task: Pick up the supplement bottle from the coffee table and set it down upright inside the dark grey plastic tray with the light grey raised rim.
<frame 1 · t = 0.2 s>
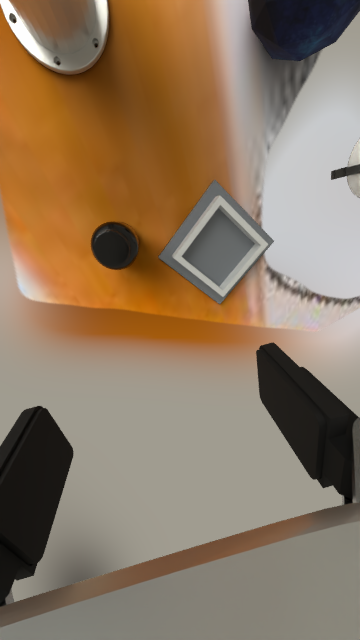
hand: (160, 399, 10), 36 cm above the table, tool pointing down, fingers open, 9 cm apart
decorative orb: (279, 13, 31), on the table
supplement bottle: (120, 241, 40), on the table
rimmed tray: (216, 248, 43), on the table
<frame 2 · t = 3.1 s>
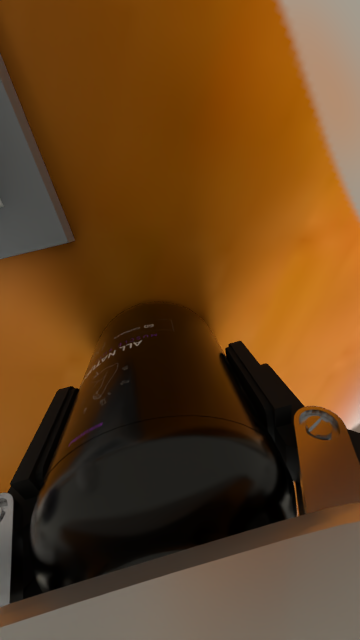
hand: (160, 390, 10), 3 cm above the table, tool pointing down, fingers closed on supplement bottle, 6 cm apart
supplement bottle: (156, 350, 14), on the table, touching gripper
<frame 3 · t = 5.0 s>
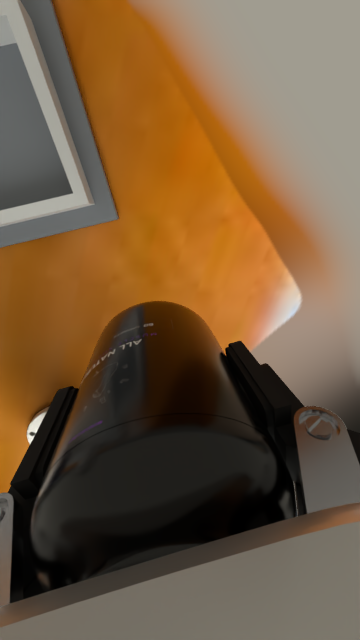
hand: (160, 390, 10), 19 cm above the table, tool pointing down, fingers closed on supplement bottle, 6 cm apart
supplement bottle: (156, 350, 14), point 15 cm above the table, touching gripper
rimmed tray: (3, 144, 20), on the table
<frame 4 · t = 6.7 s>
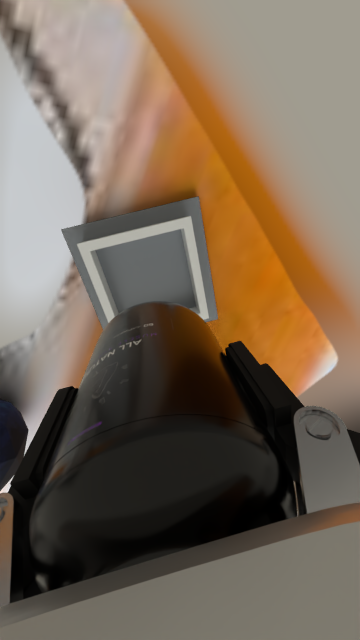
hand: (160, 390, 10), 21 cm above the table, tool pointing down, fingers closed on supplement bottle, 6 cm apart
supplement bottle: (156, 350, 14), point 18 cm above the table, touching gripper
rimmed tray: (149, 278, 30), on the table
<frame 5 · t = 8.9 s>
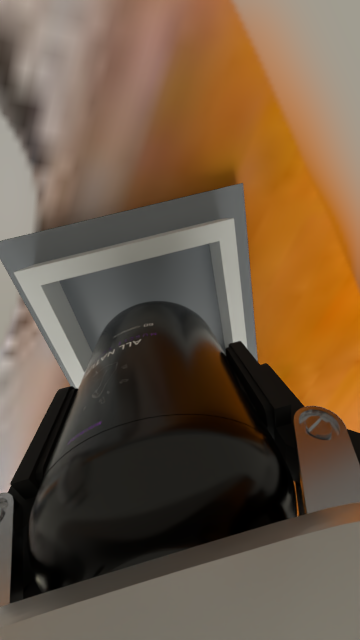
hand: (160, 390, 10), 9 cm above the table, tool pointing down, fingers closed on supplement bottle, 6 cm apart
supplement bottle: (156, 350, 13), point 5 cm above the table, touching gripper
rimmed tray: (153, 319, 18), on the table
when the fingers open (5 cm above the table, at t = 10.6 s): supplement bottle drops 1 cm, resting on rimmed tray.
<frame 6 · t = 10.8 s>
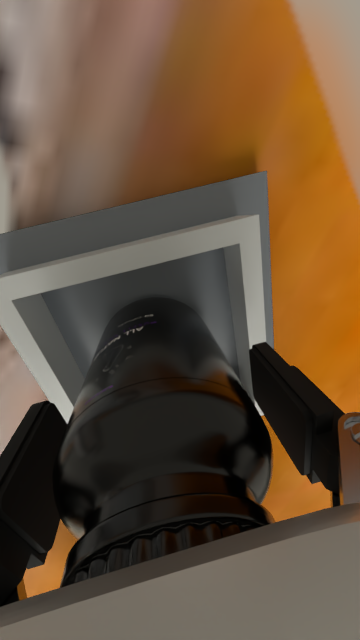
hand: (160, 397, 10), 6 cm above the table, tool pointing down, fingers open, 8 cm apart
supplement bottle: (155, 343, 15), point 1 cm above the table, touching rimmed tray
rimmed tray: (154, 334, 15), on the table
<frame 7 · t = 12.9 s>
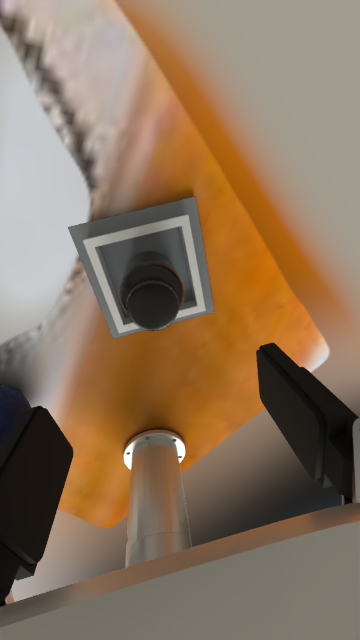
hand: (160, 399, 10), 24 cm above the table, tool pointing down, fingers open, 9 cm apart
decorative orb: (1, 398, 37), on the table
supplement bottle: (150, 275, 31), point 1 cm above the table, touching rimmed tray
rimmed tray: (149, 273, 32), on the table
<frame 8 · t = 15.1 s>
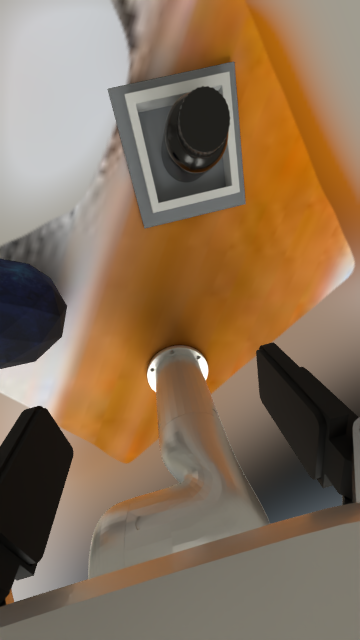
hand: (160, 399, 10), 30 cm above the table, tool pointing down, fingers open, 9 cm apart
decorative orb: (30, 297, 37), on the table
supplement bottle: (184, 155, 31), point 1 cm above the table, touching rimmed tray
rimmed tray: (183, 155, 32), on the table
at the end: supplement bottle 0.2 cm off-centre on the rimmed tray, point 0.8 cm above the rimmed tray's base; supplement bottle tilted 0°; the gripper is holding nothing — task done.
